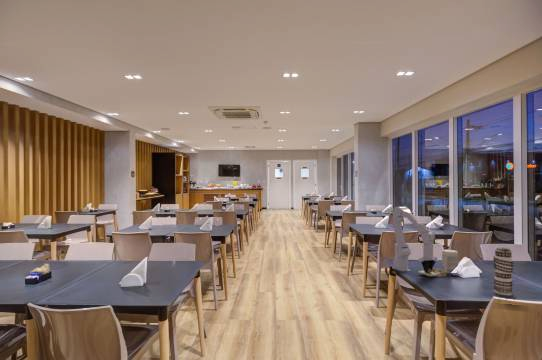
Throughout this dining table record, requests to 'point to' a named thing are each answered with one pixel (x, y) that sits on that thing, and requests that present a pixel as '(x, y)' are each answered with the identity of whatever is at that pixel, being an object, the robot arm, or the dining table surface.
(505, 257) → the decorative candle
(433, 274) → the lid
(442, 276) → the box
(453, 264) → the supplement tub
